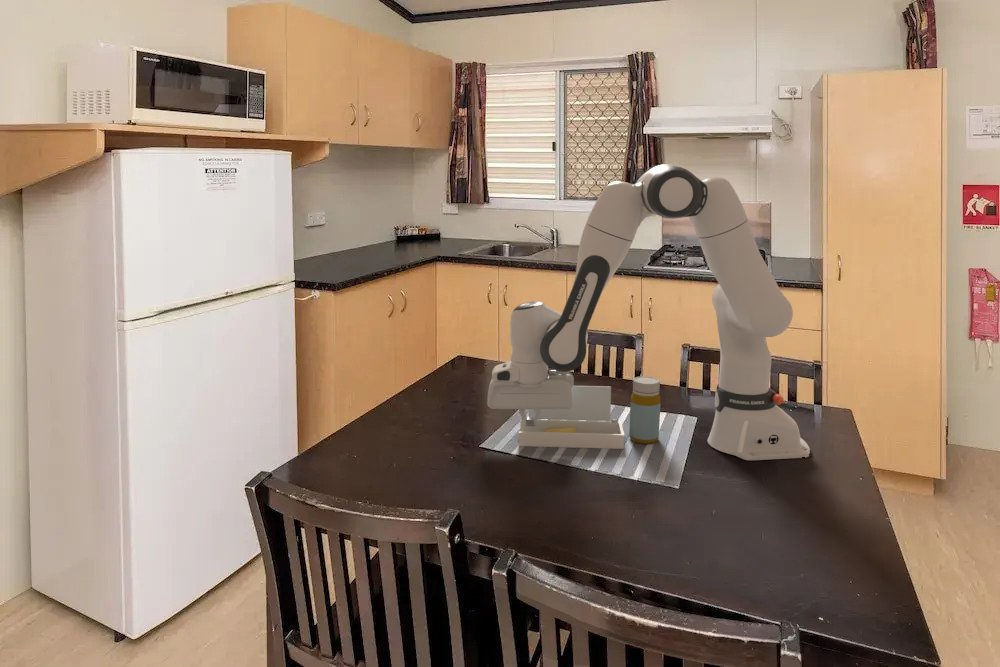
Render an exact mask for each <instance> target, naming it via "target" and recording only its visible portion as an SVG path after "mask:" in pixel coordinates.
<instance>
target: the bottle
mask: <svg viewBox="0 0 1000 667" xmlns="http://www.w3.org/2000/svg"><path fill="white" fill-rule="evenodd" d="M660 387H661V386H660V379H659V378H657V377H653V376H648V375H640V376H636V377H634V378H633V380H632V394H631V396H630V404H629V405H630V408H629V409H630V410H629V429H628V430H629V431H628V432H629V434H628V436H629V439H630V440H631V441H632V442H634V443H636V444H641V445H651V444H654V443H656V442H657V441H658V440H659V437H660V420H661V419H660V418H661V401H662V400H661V396H660ZM650 443H651V444H650Z"/></svg>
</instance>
